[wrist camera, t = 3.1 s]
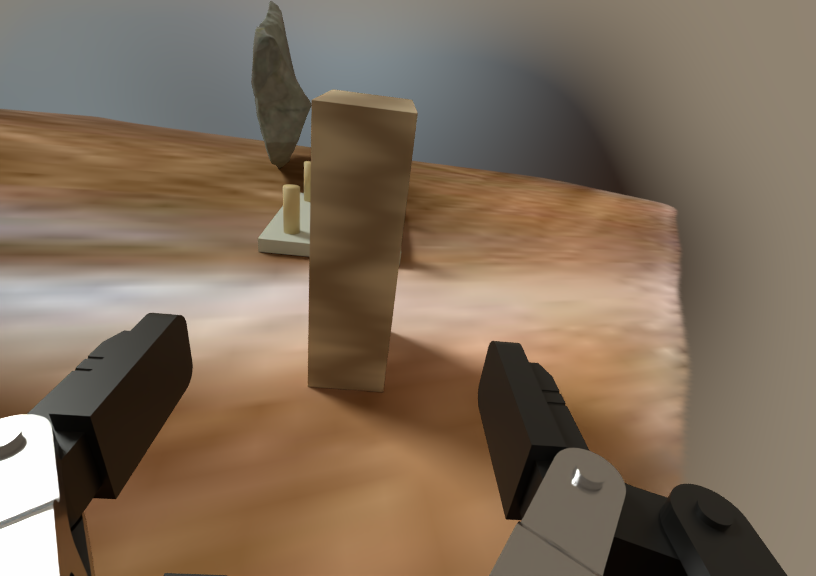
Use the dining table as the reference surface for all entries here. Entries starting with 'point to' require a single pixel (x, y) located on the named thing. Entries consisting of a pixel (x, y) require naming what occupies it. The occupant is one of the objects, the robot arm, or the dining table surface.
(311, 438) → the dining table surface
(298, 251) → the peg board
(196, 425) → the dining table surface
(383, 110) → the tan wooden block
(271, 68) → the rock
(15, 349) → the dining table surface
